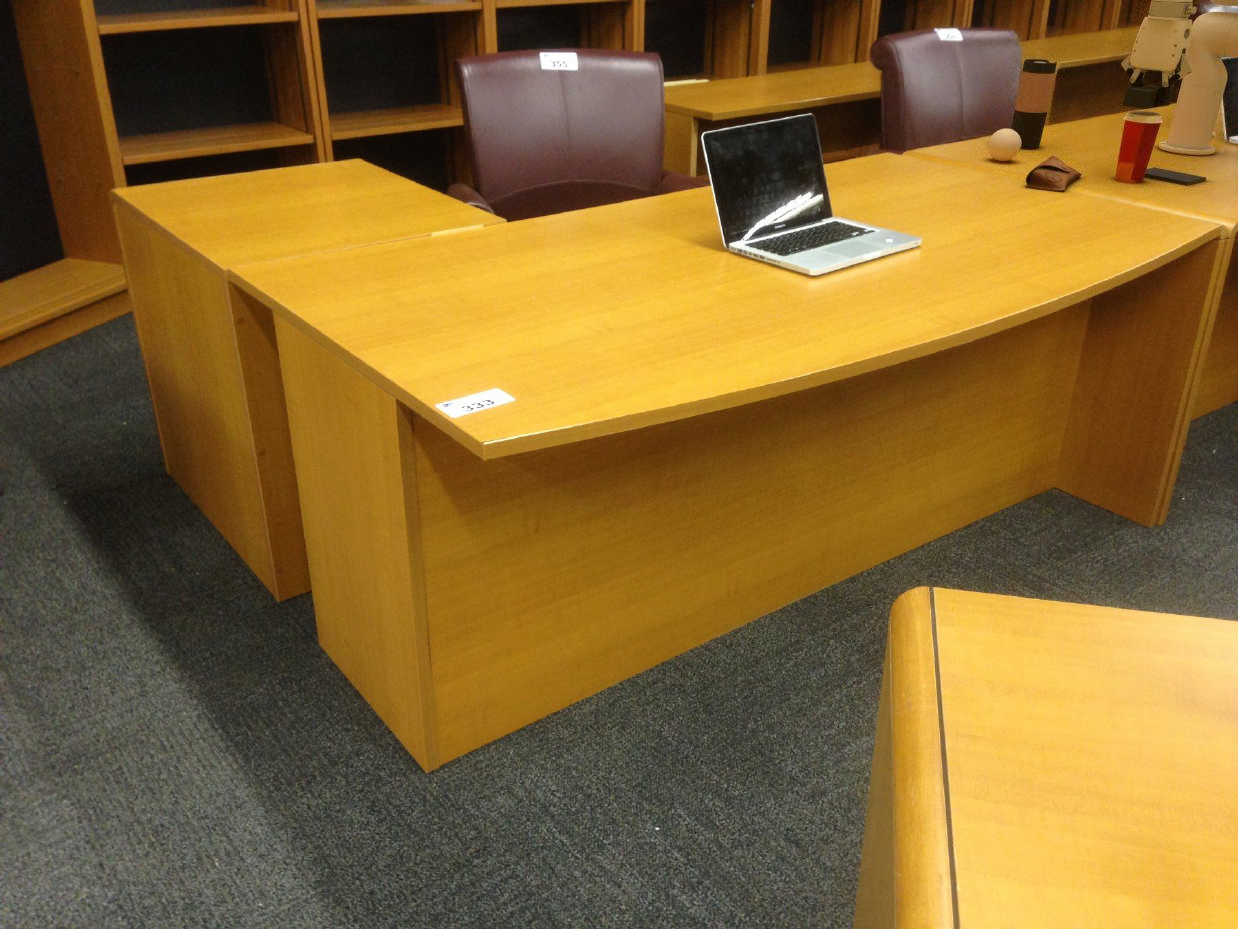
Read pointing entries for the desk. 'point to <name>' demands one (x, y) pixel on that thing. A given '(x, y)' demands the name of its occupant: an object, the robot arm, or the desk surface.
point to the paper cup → (1137, 145)
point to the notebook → (1173, 176)
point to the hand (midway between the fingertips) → (1146, 103)
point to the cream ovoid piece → (1004, 144)
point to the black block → (1143, 97)
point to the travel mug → (1033, 101)
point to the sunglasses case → (1052, 175)
